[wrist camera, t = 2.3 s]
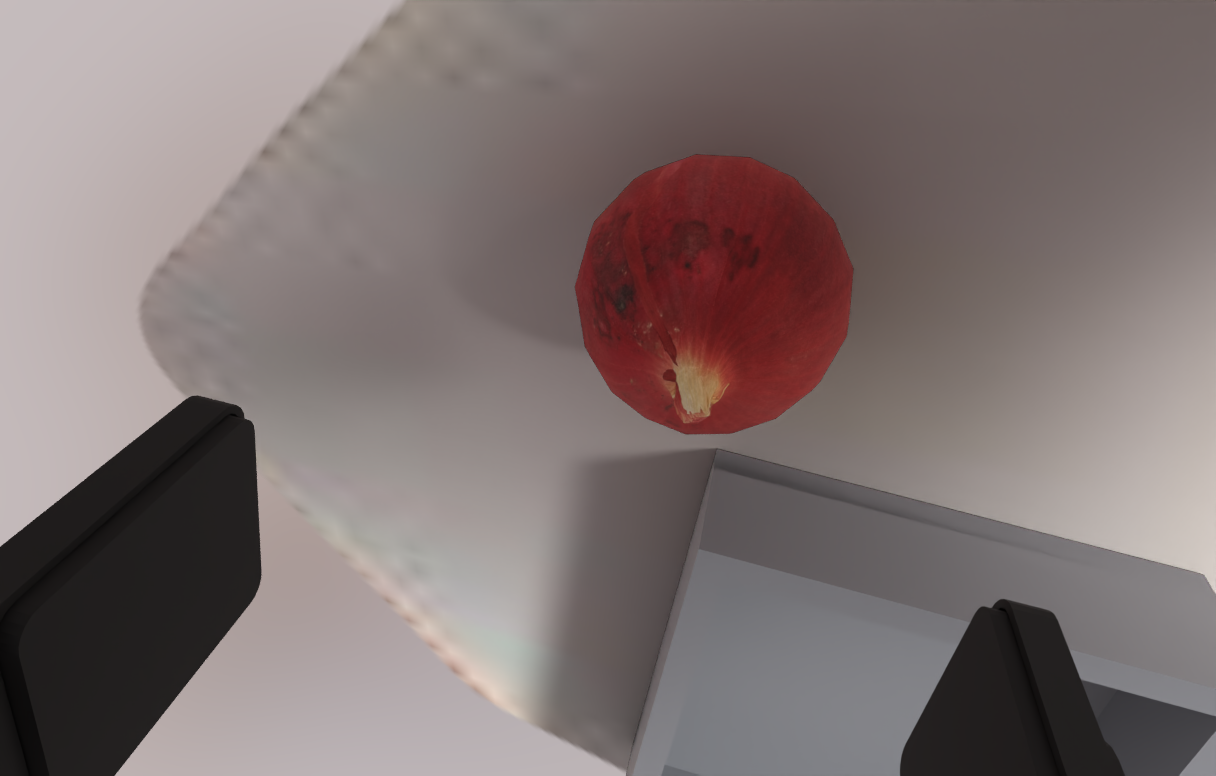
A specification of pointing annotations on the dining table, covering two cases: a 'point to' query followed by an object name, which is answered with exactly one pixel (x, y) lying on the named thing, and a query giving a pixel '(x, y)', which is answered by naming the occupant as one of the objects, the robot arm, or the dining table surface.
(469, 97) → the dining table surface
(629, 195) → the onion
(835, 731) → the tray
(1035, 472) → the dining table surface
